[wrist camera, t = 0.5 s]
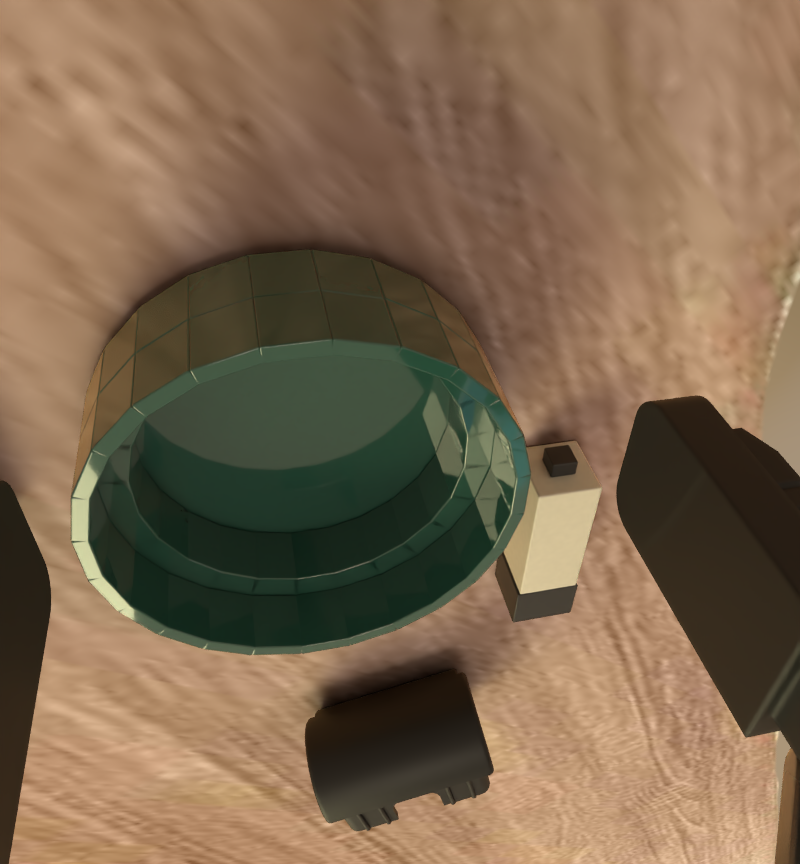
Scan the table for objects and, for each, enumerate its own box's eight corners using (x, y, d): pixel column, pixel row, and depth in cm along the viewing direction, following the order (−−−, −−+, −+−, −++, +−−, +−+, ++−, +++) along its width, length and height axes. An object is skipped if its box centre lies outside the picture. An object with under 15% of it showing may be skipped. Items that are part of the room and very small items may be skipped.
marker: (516, 435, 35) (539, 484, 33) (581, 426, 36) (608, 474, 33) (494, 574, 42) (512, 623, 40) (549, 565, 43) (570, 612, 40)
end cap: (456, 643, 46) (488, 751, 41) (472, 697, 51) (503, 798, 46) (297, 691, 46) (311, 805, 41) (329, 740, 51) (344, 847, 46)
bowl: (30, 265, 25) (-2, 376, 21) (502, 222, 28) (561, 313, 23) (138, 570, 36) (132, 684, 32) (469, 519, 39) (506, 618, 34)
